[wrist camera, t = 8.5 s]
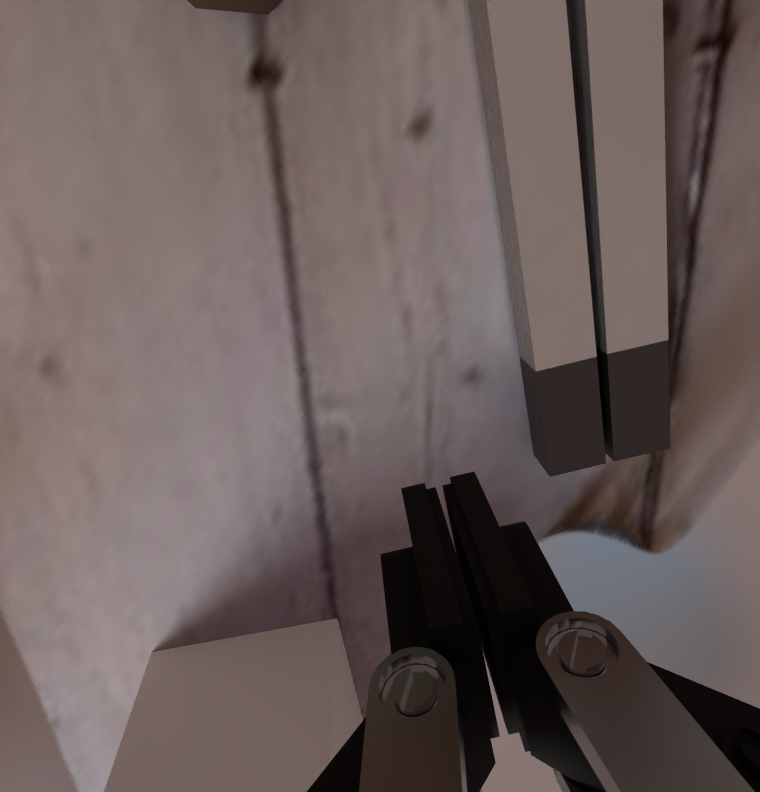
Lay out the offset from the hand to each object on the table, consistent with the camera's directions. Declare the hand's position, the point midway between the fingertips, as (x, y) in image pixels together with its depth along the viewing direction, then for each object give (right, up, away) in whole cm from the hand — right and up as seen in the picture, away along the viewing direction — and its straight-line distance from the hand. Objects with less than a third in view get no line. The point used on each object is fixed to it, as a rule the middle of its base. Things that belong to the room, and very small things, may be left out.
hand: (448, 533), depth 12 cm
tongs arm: (+6, +12, +13) cm, 19 cm away
